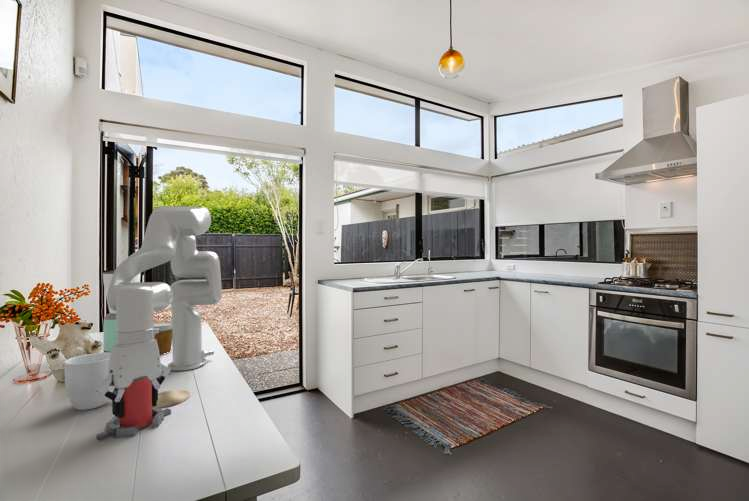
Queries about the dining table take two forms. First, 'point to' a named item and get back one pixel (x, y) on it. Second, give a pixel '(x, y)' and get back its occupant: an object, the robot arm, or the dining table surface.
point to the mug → (86, 380)
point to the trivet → (171, 398)
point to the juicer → (111, 315)
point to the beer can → (138, 403)
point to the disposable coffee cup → (164, 336)
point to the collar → (130, 430)
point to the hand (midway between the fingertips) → (136, 410)
